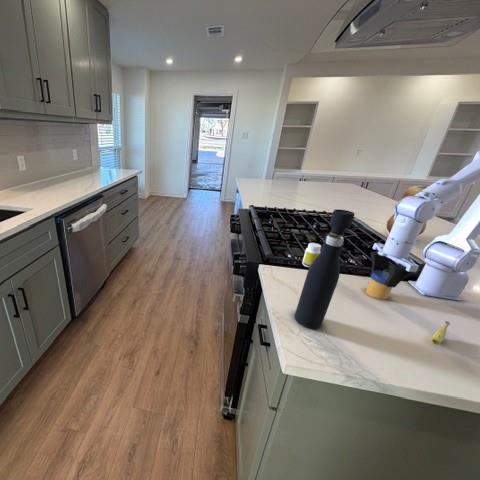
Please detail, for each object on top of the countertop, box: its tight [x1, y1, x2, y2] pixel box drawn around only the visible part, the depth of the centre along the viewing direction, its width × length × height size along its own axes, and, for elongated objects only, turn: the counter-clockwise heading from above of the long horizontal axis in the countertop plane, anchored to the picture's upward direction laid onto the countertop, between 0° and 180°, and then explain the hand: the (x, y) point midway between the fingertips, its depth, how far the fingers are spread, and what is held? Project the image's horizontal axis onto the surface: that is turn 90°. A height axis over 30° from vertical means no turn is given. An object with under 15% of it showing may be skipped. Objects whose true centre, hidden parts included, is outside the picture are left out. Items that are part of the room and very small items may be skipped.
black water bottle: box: [293, 208, 356, 330], centre depth 61 cm, size 6×6×30 cm
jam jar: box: [365, 277, 394, 301], centre depth 77 cm, size 5×5×6 cm
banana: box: [430, 320, 451, 345], centre depth 61 cm, size 8×2×4 cm, turn 124°
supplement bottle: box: [301, 242, 322, 269], centre depth 93 cm, size 5×5×8 cm
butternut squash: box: [386, 185, 428, 237], centre depth 118 cm, size 14×13×25 cm
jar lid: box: [370, 270, 389, 285], centre depth 76 cm, size 6×6×2 cm
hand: (382, 280), depth 77 cm, fingers closed on jar lid, 6 cm apart
